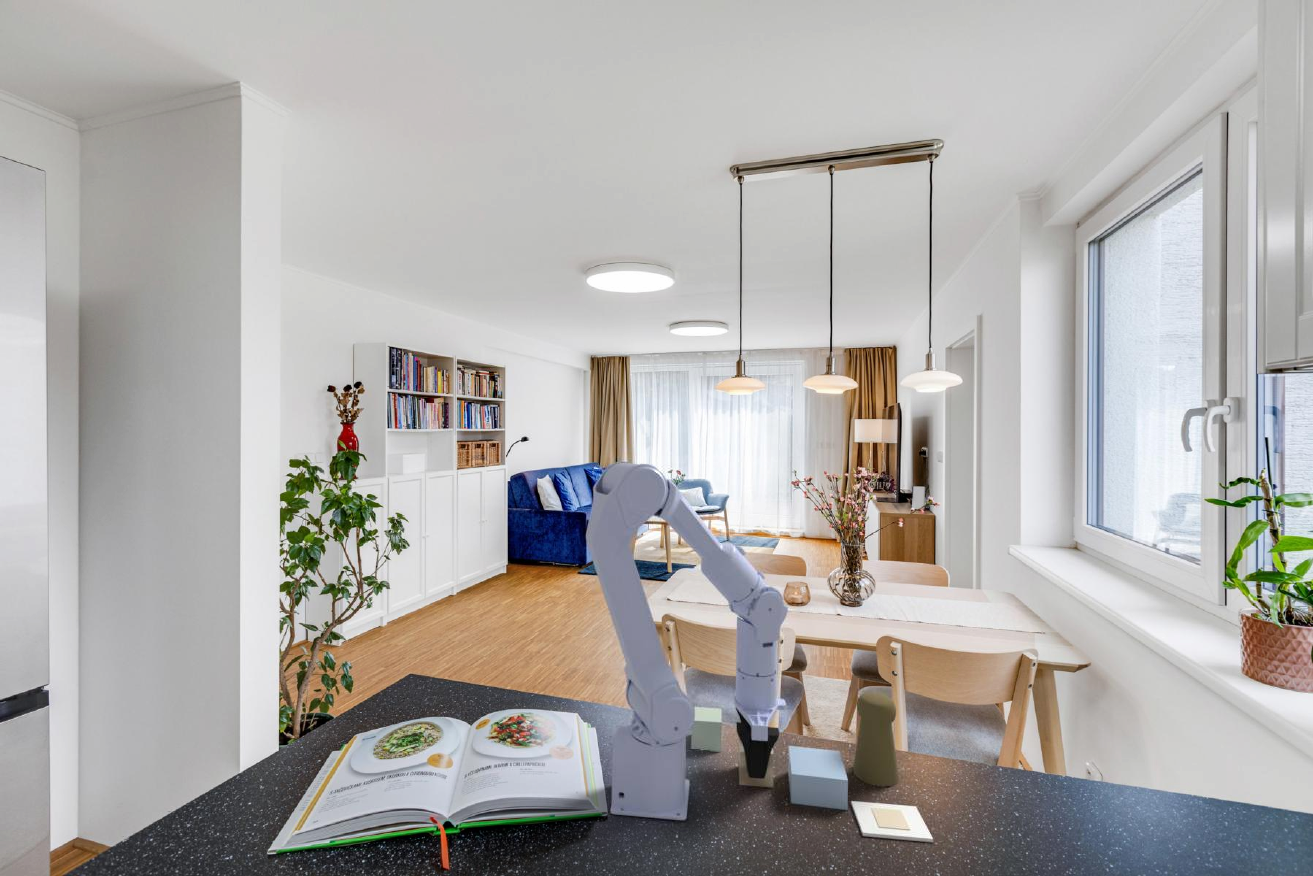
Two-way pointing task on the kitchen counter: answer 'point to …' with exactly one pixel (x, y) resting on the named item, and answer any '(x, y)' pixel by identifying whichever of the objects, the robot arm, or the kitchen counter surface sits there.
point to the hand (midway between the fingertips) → (755, 766)
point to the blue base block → (817, 778)
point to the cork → (876, 740)
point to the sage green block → (707, 729)
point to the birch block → (743, 772)
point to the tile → (891, 821)
